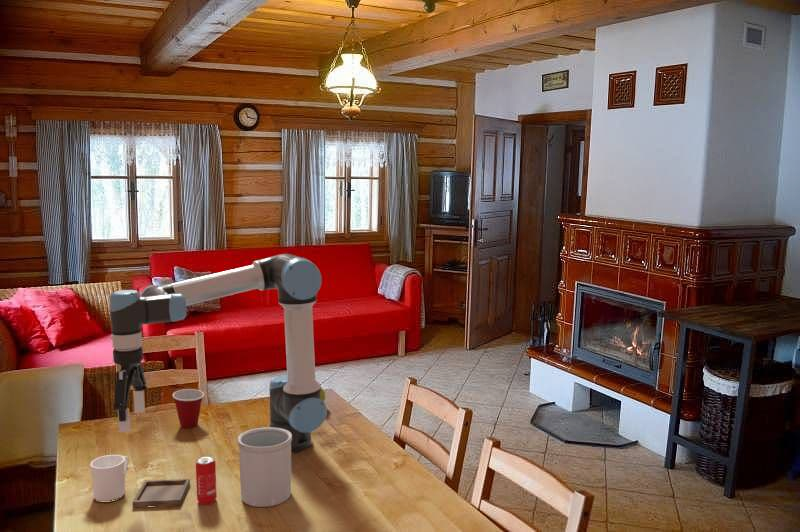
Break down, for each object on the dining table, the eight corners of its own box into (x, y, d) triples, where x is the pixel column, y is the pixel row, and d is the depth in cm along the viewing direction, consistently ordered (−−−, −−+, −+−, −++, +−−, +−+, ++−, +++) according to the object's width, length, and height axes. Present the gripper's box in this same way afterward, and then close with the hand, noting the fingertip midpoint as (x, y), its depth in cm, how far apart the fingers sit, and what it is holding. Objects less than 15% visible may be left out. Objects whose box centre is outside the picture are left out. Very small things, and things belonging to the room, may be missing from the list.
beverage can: (199, 507, 185) (197, 465, 184) (195, 499, 190) (193, 458, 188) (218, 503, 188) (217, 462, 186) (214, 495, 192) (212, 454, 190)
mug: (105, 507, 185) (103, 471, 184) (85, 498, 190) (83, 463, 188) (139, 490, 194) (137, 456, 193) (120, 483, 199) (118, 449, 197)
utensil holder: (246, 482, 200) (245, 425, 197) (297, 483, 199) (296, 426, 197) (233, 507, 185) (231, 446, 183) (287, 509, 185) (286, 447, 182)
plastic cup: (195, 433, 236) (194, 399, 234) (167, 429, 238) (166, 397, 237) (211, 421, 246) (210, 389, 244) (184, 418, 249) (183, 387, 247)
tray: (190, 484, 198) (189, 478, 198) (180, 506, 186) (180, 500, 186) (145, 486, 197) (145, 480, 197) (132, 508, 185) (132, 501, 184)
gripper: (127, 335, 197) (132, 406, 200) (96, 361, 172) (102, 440, 176) (154, 335, 197) (158, 405, 201) (127, 360, 173) (132, 439, 176)
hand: (132, 422), depth 188 cm, fingers open, 13 cm apart
